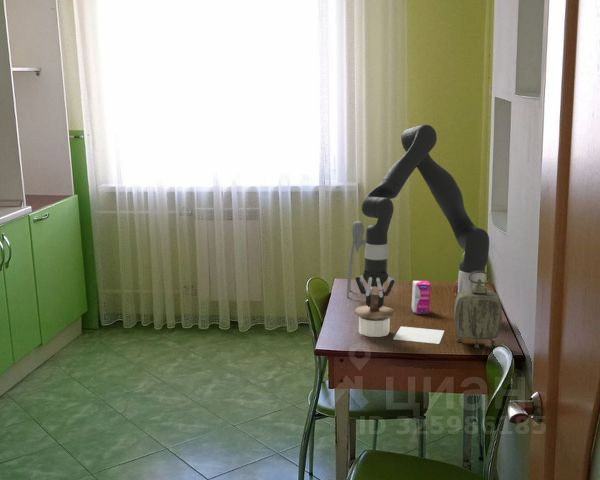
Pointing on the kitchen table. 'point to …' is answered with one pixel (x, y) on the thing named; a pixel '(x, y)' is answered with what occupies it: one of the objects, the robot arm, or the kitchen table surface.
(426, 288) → the supplement box
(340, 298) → the kitchen table surface
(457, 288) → the tin
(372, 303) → the lid
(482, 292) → the tabletop clock
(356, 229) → the citrus juicer
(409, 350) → the kitchen table surface
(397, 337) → the mat
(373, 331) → the bowl
